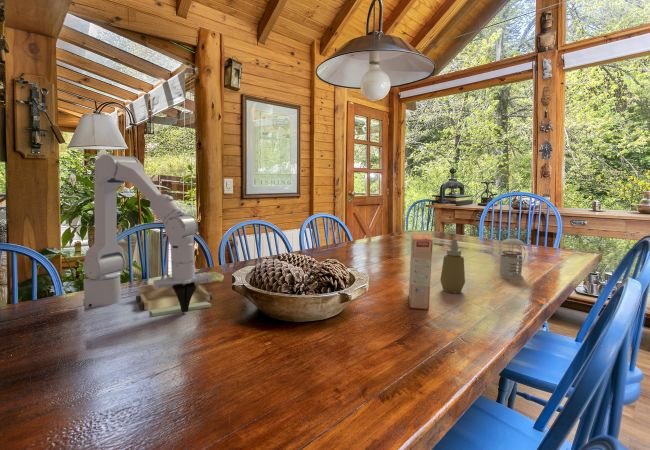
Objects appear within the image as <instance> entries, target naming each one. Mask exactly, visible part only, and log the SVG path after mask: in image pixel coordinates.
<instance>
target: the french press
mask: <svg viewBox="0 0 650 450" xmlns="http://www.w3.org/2000/svg"><path fill="white" fill-rule="evenodd" d="M511 217H512V218H513V221H515V220H516V219H515V218H518V215H517V214H516V213H513V214H512V215H511ZM512 228H513V230H512V235H514V232H515V225H513V227H512ZM501 243H502V244H504V245H509V246H511V250H503V251H501V253H502V254H501V255H500V259H499V260H500V265H499V273H497V274H496V276H497V277H498V276H499V278H501V279H507V280H516V281H517V280H523V279H524V278H525V277H524V276H523V275H522V268H523V262H524V261H525V258H526V254H524V256H522V255H523V251H522V249H524V251H526V249H525V246H524V245H525V243H524V242H523V241H522V240H520V239H518V238H514V237H512V238H506V239H503V240H502V241H501ZM513 246H516V248H517V249H518V250H520V251H515V250H513V248H514V247H513Z"/></svg>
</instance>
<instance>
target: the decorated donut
mask: <svg viewBox="0 0 650 450" xmlns="http://www.w3.org/2000/svg"><path fill="white" fill-rule="evenodd" d="M197 274H211V275H212V282H202V283H200V285H209V284H211V285H212V284H217V283H221V282H224V279H225V278H224V277H225V276H224V275H223V274H222V273H220V272H218V271H217V272H216V271H205V272H199V273H197Z"/></svg>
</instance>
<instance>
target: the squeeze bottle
mask: <svg viewBox="0 0 650 450" xmlns="http://www.w3.org/2000/svg"><path fill="white" fill-rule="evenodd" d="M465 272H466V271H465V259H464V256H462V250H461V249H459V246H458V241H457V238H452V241H451V246H450V248H447V249H446V255H444V256H443V260H442V268H441V272H440V273H441V275H440V279H439V280H440V283H441V287H442V291H444V292H446V293H449V294H459V293H461V292H462V291H463V288H464V287H465V284H466V277H465V276H466V275H465V274H466V273H465Z"/></svg>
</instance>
